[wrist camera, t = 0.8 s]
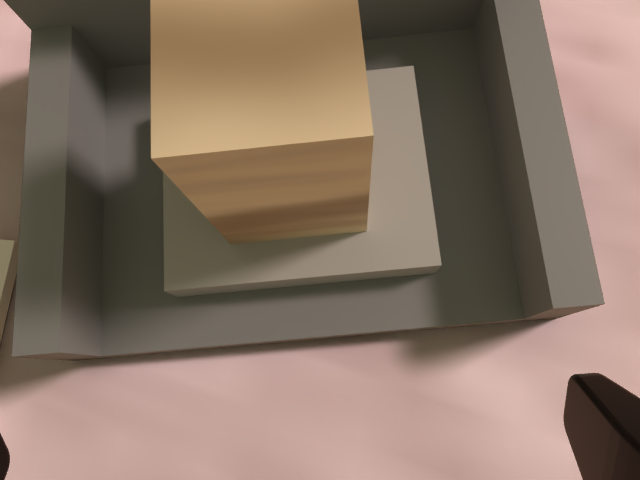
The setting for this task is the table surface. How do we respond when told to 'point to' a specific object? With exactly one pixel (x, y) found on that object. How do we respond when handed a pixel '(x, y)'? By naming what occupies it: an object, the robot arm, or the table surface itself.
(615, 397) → the robot arm
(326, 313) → the grey walled tray
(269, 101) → the block
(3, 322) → the tile
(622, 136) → the table surface
